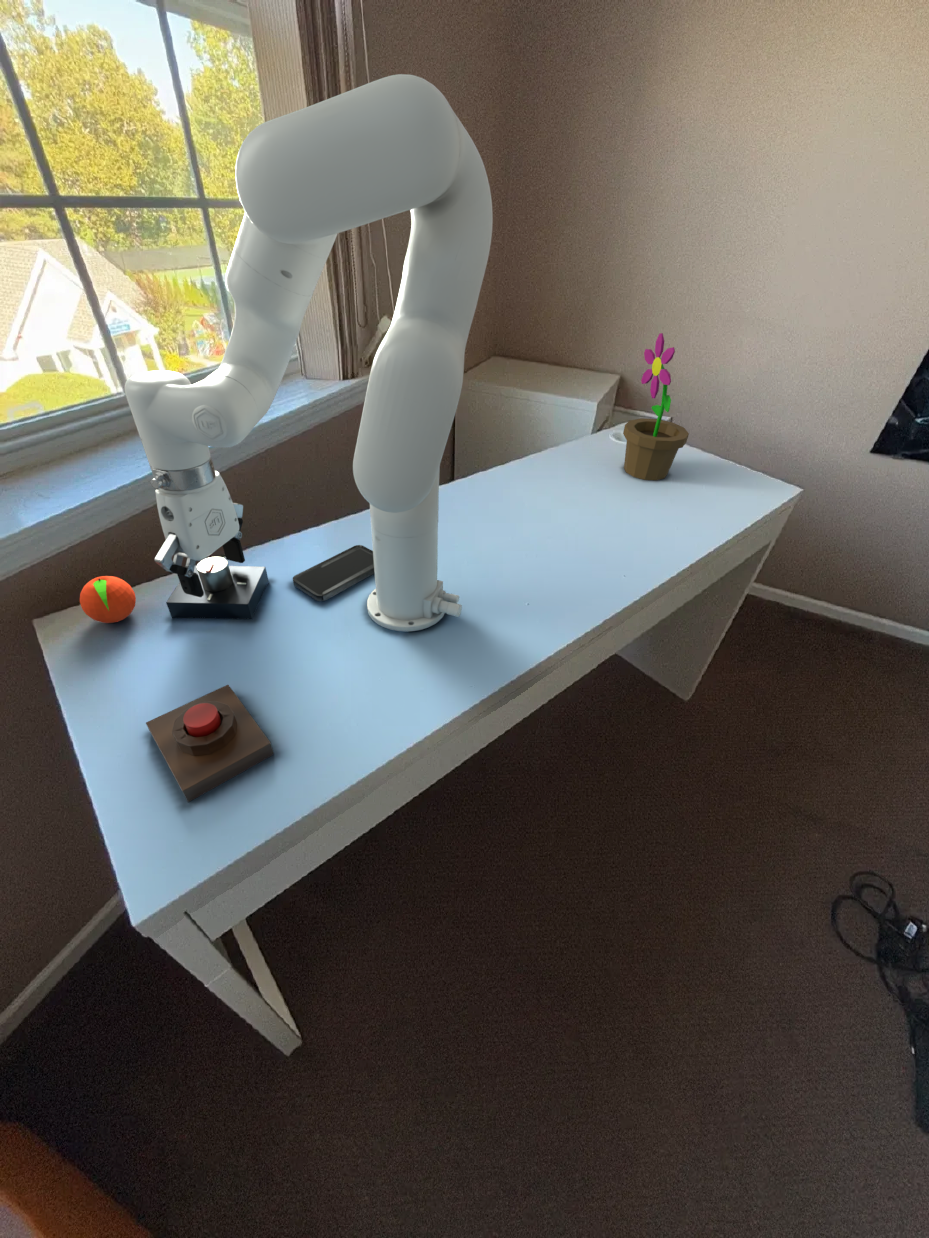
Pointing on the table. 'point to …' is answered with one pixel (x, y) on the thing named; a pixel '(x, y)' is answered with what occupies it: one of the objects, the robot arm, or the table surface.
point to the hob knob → (215, 574)
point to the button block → (210, 744)
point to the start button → (202, 720)
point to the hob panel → (223, 597)
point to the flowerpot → (654, 425)
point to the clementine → (107, 599)
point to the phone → (336, 573)
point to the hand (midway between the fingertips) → (216, 576)
